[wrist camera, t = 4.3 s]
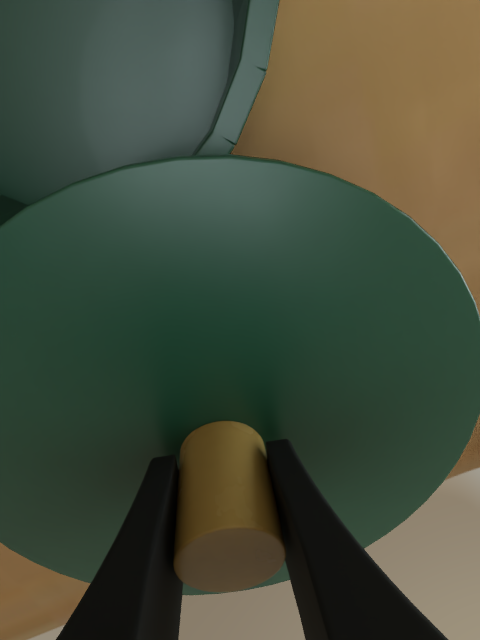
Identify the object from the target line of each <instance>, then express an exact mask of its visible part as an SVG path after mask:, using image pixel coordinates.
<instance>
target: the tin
mask: <svg viewBox="0 0 480 640" xmlns="http://www.w3.org/2000/svg"><path fill="white" fill-rule="evenodd" d="M278 6H279V0H0V226H1V225H2V224H3V223H5V222H6V221H7V220H9V219H10V218H11V217H13V216H14V215H16V214H17V213H18V212H20V211H21V210H22V209H24V208H25V207H27V206H29V205H31V204H32V203H34V202H36V201H38V200H40V199H42V198H44V197H46V196H48V195H50V194H52V193H54V192H56V191H58V190H60V189H62V188H64V187H66V186H67V185H69V184H71V183H74V182H77V181H79V180H82V179H85V178H88V177H91V176H94V175H97V174H100V173H103V172H106V171H109V170H112V169H115V168H118V167H121V166H124V165H128V164H134V163H139V162H145V161H151V160H156V159H162V158H168V157H173V156H186V155H219V154H230V153H231V151H232V150H233V149H234V145H236V144H237V142H238V139H239V137H240V135H241V132H242V130H243V127H244V125H245V123H246V120H247V118H248V115H249V113H250V111H251V108H252V106H253V103H254V101H255V99H256V96H257V94H258V92H259V89H260V87H261V84H262V82H263V80H264V77H265V75H266V70H267V67H268V62H269V56H270V50H271V45H272V39H273V34H274V28H275V23H276V17H277V11H278Z"/></svg>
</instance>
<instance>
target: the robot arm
mask: <svg viewBox="0 0 480 640" xmlns="http://www.w3.org/2000/svg"><path fill="white" fill-rule="evenodd" d="M266 452H267V462H268V467H269V471H270V476H271V481H272V486H273V491H274V495H275V499H276V504H277V508H278V513H279V518H280V523H281V527H282V532H283V537H284V542H285V547H286V558H285V562H286V566H287V569H288V573H289V577H290V580H291V584H292V588H293V592H294V595H295V599H296V603H297V606H298V610H299V614H300V618H301V622H302V626H303V630H304V634H305V639H306V640H448V639H447V638H446V637H445V636H444V635H443V634H442V633H441V632H440V631H439V630H438V629H437V628H436V627H435V626H434V625H433V624H432V623H431V622H430V621H429V620H428V619H427V618H426V617H425V616H424V615H423V614H422V613H421V612H420V611H419V610H418V609H417V608H416V607H415V606H414V605H413V604H412V603H411V602H410V600H409V599H408V598H407V597H406V596H405V595H404V594H403V593H402V592H401V591H400V590H399V588H398V587H397V586H396V585H395V584H394V583H393V582H392V581H391V580H390V579H389V578H388V577H387V575H386V574H385V573H384V572H383V571H382V570H381V568H379V566H378V565H377V564H376V563H375V562H374V560H373V559H372V558H371V557H370V556H369V555H368V553H367V552H366V551H365V550H364V549H363V547H362V546H361V545H360V544H359V542H358V541H357V540H356V539H355V537H354V536H353V535H352V534H351V532H350V531H349V530H348V529H347V527H346V526H345V525H344V523H343V522H342V521H341V519H340V518H339V517H338V515H337V514H336V513H335V511H334V510H333V509H332V507H331V506H330V504H329V503H328V502H327V500H326V499H325V497H324V496H323V495H322V493H321V492H320V490H319V489H318V487H317V486H316V484H315V483H314V481H313V480H312V478H311V477H310V475H309V473H308V472H307V470H306V469H305V467H304V465H303V464H302V462H301V460H300V459H299V457H298V455H297V453H296V451H295V449H294V447H293V445H292V443H291V441H289V440H288V439H281V440H274V441H267V442H266ZM178 477H179V469H178V465H177V461H176V457H175V455H169V456H162V457H155V458H153V459H152V460H151V461H150V463H149V466H148V469H147V471H146V474H145V476H144V478H143V481H142V483H141V486H140V488H139V490H138V492H137V495H136V497H135V499H134V501H133V503H132V506H131V508H130V510H129V512H128V514H127V516H126V518H125V520H124V522H123V524H122V526H121V528H120V530H119V532H118V534H117V536H116V538H115V540H114V542H113V544H112V546H111V548H110V550H109V551H108V553H107V555H106V557H105V559H104V560H103V562H102V564H101V566H100V568H99V570H98V571H97V573H96V575H95V577H94V579H93V580H92V582H91V584H90V585H89V587H88V589H87V591H86V592H85V594H84V596H83V597H82V599H81V601H80V602H79V604H78V606H77V607H76V609H75V610H74V612H73V614H72V615H71V617H70V618H69V620H68V622H67V623H66V625H65V626H64V628H63V630H62V631H61V633H60V634H59V636H58V637H57V639H56V640H178V635H179V625H180V613H181V602H182V591H183V582H182V581H181V580H180V579H179V578H178V576H177V575H176V573H175V571H174V567H173V558H174V542H175V526H176V509H177V493H178Z"/></svg>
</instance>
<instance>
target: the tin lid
mask: <svg viewBox="0 0 480 640" xmlns="http://www.w3.org/2000/svg"><path fill="white" fill-rule="evenodd" d="M479 414H480V316H479V313H478V309H477V306H476V303H475V300H474V298H473V296H472V294H471V292H470V290H469V288H468V286H467V284H466V282H465V280H464V279H463V277H462V275H461V273H460V271H459V269H458V268H457V267H456V266H455V264H454V263H453V262H452V260H451V259H450V258H449V256H448V255H447V254H446V252H445V251H444V250H443V248H442V247H441V246H440V245H439V243H438V242H437V241H436V240H435V239H434V238H432V237H431V236H430V235H429V234H428V233H427V232H426V231H425V230H424V229H423V228H422V227H421V226H419V225H418V224H417V223H416V222H415V221H414V220H413V219H412V218H411V217H410V216H408V215H407V214H405V213H404V212H402V211H401V210H399V209H398V208H396V207H394V206H393V205H391V204H390V203H388V202H387V201H385V200H384V199H382V198H381V197H379V196H377V195H376V194H374V193H373V192H370V191H368V190H366V189H363V188H361V187H359V186H357V185H354V184H352V183H350V182H348V181H345V180H343V179H341V178H339V177H336V176H334V175H332V174H329V173H325V172H322V171H318V170H314V169H311V168H307V167H303V166H299V165H296V164H292V163H288V162H284V161H281V160H275V159H266V158H258V157H249V156H240V155H231V154H219V155H186V156H173V157H168V158H162V159H156V160H151V161H145V162H139V163H134V164H128V165H124V166H121V167H118V168H115V169H112V170H109V171H106V172H103V173H100V174H97V175H94V176H91V177H88V178H85V179H82V180H79V181H77V182H74V183H71V184H69V185H67V186H66V187H64V188H62V189H60V190H58V191H56V192H54V193H52V194H50V195H48V196H46V197H44V198H42V199H40V200H38V201H36V202H34V203H32V204H31V205H29V206H27V207H25V208H24V209H22V210H21V211H20V212H18V213H17V214H16V215H14V216H13V217H11V218H10V219H9V220H7V221H6V222H5V223H3V224H2V225H1V226H0V542H1V543H2V544H4V545H5V546H6V547H8V548H9V549H11V550H13V551H14V552H16V553H18V554H20V555H22V556H24V557H25V558H27V559H29V560H31V561H33V562H34V563H37V564H39V565H41V566H44V567H46V568H48V569H51V570H53V571H55V572H58V573H60V574H63V575H66V576H69V577H72V578H75V579H78V580H81V581H84V582H88V583H91V582H92V580H93V579H94V577H95V575H96V573H97V571H98V570H99V568H100V566H101V564H102V562H103V560H104V559H105V557H106V555H107V553H108V551H109V550H110V548H111V546H112V544H113V542H114V540H115V538H116V536H117V534H118V532H119V530H120V528H121V526H122V524H123V522H124V520H125V518H126V516H127V514H128V512H129V510H130V508H131V506H132V503H133V501H134V499H135V497H136V495H137V492H138V490H139V488H140V486H141V483H142V481H143V478H144V476H145V474H146V471H147V469H148V466H149V463H150V461H151V460H152V459H153V458H155V457H162V456H169V455H175V457H176V461H177V465H178V469H179V477H178V493H177V509H176V526H175V542H174V558H173V567H174V571H175V573H176V575H177V576H178V578H179V579H180V580H181V581H182V582H183V591H182V595H204V594H219V593H227V592H235V591H243V590H249V589H254V588H259V587H264V586H268V585H273V584H276V583H280V582H284V581H287V580H290V577H289V573H288V569H287V566H286V562H285V558H286V547H285V542H284V537H283V532H282V527H281V523H280V518H279V513H278V508H277V504H276V499H275V495H274V491H273V486H272V481H271V476H270V471H269V467H268V462H267V452H266V442H267V441H274V440H281V439H288V440H289V441H291V443H292V445H293V447H294V449H295V451H296V453H297V455H298V457H299V459H300V460H301V462H302V464H303V465H304V467H305V469H306V470H307V472H308V473H309V475H310V477H311V478H312V480H313V481H314V483H315V484H316V486H317V487H318V489H319V490H320V492H321V493H322V495H323V496H324V497H325V499H326V500H327V502H328V503H329V504H330V506H331V507H332V509H333V510H334V511H335V513H336V514H337V515H338V517H339V518H340V519H341V521H342V522H343V523H344V525H345V526H346V527H347V529H348V530H349V531H350V532H351V534H352V535H353V536H354V537H355V539H356V540H357V541H358V542H359V544H360V545H361V546H362V547H363V549H364V548H366V547H367V546H369V545H370V544H372V543H373V542H375V541H377V540H378V539H380V538H381V537H383V536H384V535H386V534H387V533H389V532H390V531H391V530H393V529H394V528H395V527H397V526H398V525H399V524H401V523H402V522H403V521H405V520H406V519H407V518H408V517H409V516H410V515H411V514H413V513H414V512H415V511H416V510H417V509H418V508H419V507H420V506H421V505H422V504H423V503H424V502H426V501H427V499H428V498H429V497H430V496H431V495H432V494H433V493H434V492H435V491H436V489H437V488H438V487H439V486H440V485H441V484H442V483H443V481H444V480H445V479H446V477H447V476H448V474H449V473H450V472H451V470H452V469H453V467H454V466H455V465H456V463H457V462H458V460H459V458H460V456H461V454H462V453H463V451H464V449H465V447H466V445H467V443H468V442H469V440H470V437H471V435H472V432H473V430H474V427H475V425H476V422H477V419H478V417H479Z"/></svg>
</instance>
